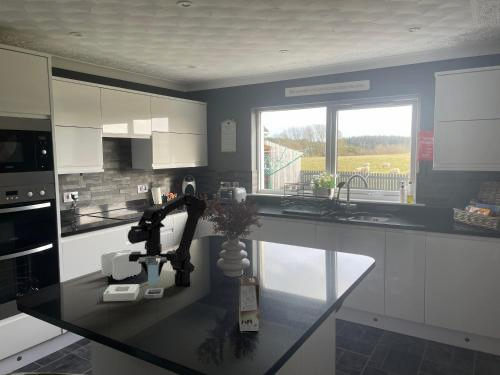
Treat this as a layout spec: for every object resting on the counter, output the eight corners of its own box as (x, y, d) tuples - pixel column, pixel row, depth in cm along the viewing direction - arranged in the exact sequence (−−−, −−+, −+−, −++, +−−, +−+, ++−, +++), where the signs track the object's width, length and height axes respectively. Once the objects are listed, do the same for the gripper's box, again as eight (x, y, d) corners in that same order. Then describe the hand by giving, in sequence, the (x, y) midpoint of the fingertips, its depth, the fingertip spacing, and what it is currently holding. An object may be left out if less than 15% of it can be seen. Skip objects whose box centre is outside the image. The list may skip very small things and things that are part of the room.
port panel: (139, 291, 163) (139, 283, 163) (134, 300, 153) (134, 292, 153) (110, 291, 162) (109, 284, 162) (103, 301, 152) (103, 292, 152)
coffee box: (259, 332, 128) (259, 285, 126) (240, 332, 127) (240, 285, 125) (256, 319, 137) (256, 275, 135) (238, 320, 136) (238, 276, 135)
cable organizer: (112, 282, 174) (111, 257, 172) (101, 277, 181) (100, 252, 179) (141, 274, 185) (141, 250, 184) (129, 269, 192) (129, 246, 191)
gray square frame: (163, 291, 163) (163, 288, 162) (161, 297, 156) (161, 294, 156) (147, 292, 162) (147, 288, 162) (144, 298, 155) (144, 294, 155)
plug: (159, 280, 160) (159, 260, 160) (158, 284, 156) (157, 263, 156) (149, 281, 160) (149, 260, 159) (148, 284, 156) (147, 263, 155)
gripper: (178, 234, 165) (178, 270, 167) (133, 235, 163) (134, 271, 165) (175, 240, 154) (176, 278, 156) (128, 241, 152) (128, 279, 154)
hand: (153, 276), depth 158 cm, fingers closed on plug, 4 cm apart
